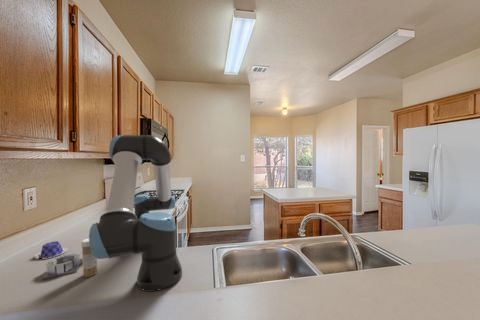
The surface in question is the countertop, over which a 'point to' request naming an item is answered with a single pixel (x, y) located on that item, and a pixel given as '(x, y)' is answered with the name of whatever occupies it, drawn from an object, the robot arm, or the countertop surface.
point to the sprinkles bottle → (88, 260)
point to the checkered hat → (51, 250)
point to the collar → (63, 266)
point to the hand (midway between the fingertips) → (106, 245)
